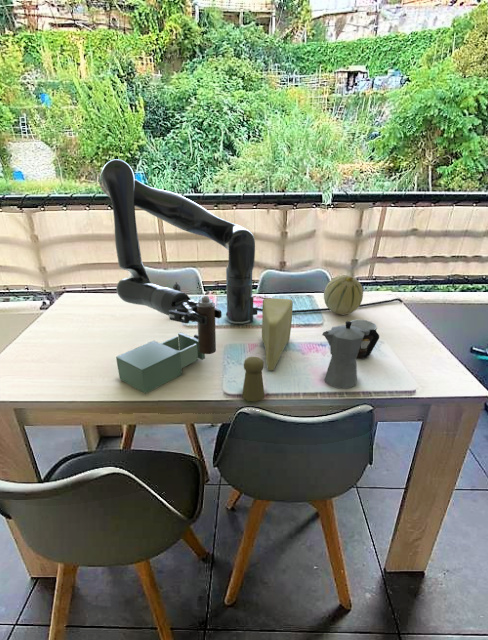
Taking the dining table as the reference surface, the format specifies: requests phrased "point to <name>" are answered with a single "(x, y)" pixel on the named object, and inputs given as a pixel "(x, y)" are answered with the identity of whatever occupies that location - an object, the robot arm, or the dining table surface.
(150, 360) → the cabinet
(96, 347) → the dining table surface
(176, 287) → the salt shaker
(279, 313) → the cheese
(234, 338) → the dining table surface
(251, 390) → the olive rounded tall piece
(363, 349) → the coffee mug
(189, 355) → the drawer
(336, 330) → the coffeepot
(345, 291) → the cantaloupe
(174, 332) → the dining table surface
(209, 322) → the pepper mill
